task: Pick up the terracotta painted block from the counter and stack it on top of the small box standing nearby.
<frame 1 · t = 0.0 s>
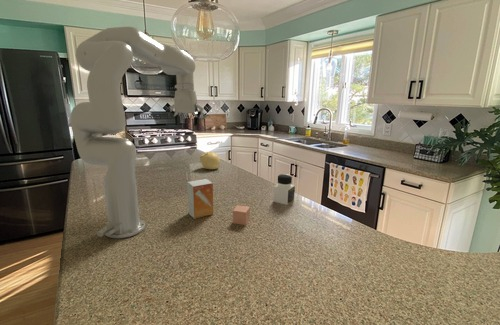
hand: (187, 125, 123), 31 cm above the countertop, tool pointing down, fingers open, 9 cm apart
medicine bottle: (283, 201, 116), on the countertop
terracotta block: (241, 221, 96), on the countertop
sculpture: (210, 168, 166), on the countertop
small box: (200, 214, 102), on the countertop
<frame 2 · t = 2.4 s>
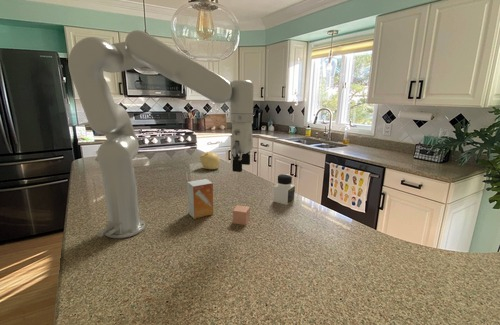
hand: (241, 167, 92), 20 cm above the countertop, tool pointing down, fingers open, 9 cm apart
nothing on the countertop moved.
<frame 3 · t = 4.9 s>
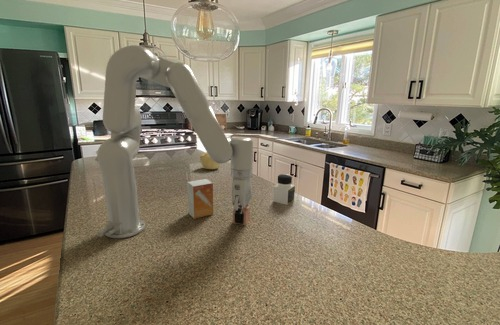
hand: (241, 219, 96), 1 cm above the countertop, tool pointing down, fingers closed on terracotta block, 5 cm apart
terracotta block: (241, 221, 96), on the countertop, touching gripper
everything else where it was.
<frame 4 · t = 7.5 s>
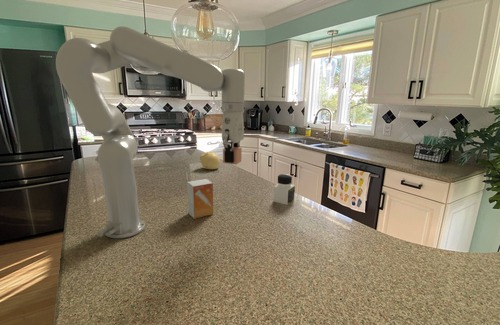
hand: (232, 160, 92), 23 cm above the countertop, tool pointing down, fingers closed on terracotta block, 5 cm apart
terracotta block: (232, 162, 92), point 22 cm above the countertop, touching gripper
everything else where it was.
when the fingers open (15 cm above the countertop, at t = 10.3 s): terracotta block drops 1 cm, resting on small box.
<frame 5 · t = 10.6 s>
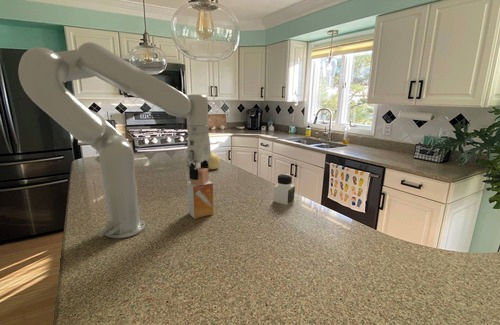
hand: (199, 175, 98), 16 cm above the countertop, tool pointing down, fingers open, 8 cm apart
terracotta block: (199, 182, 99), point 13 cm above the countertop, touching small box
small box: (201, 214, 102), on the countertop, touching terracotta block
everything else where it was.
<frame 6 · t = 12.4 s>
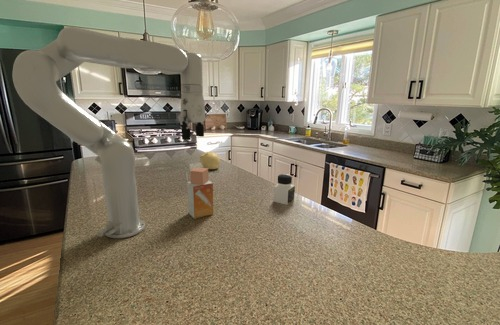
hand: (193, 137, 97), 30 cm above the countertop, tool pointing down, fingers open, 9 cm apart
nothing on the countertop moved.
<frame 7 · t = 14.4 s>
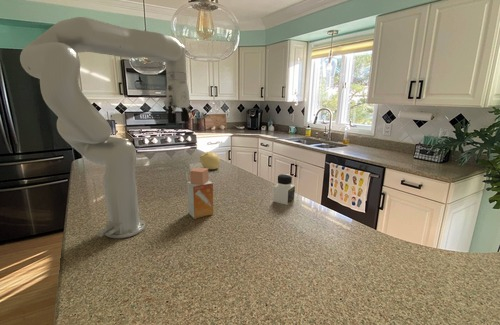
hand: (179, 122, 105), 34 cm above the countertop, tool pointing down, fingers open, 9 cm apart
nothing on the countertop moved.
at the end: terracotta block inside the target area on the small box (0.1 cm from its centre), point 13.2 cm above the small box's base; small box tilted 0°; the gripper is holding nothing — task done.
